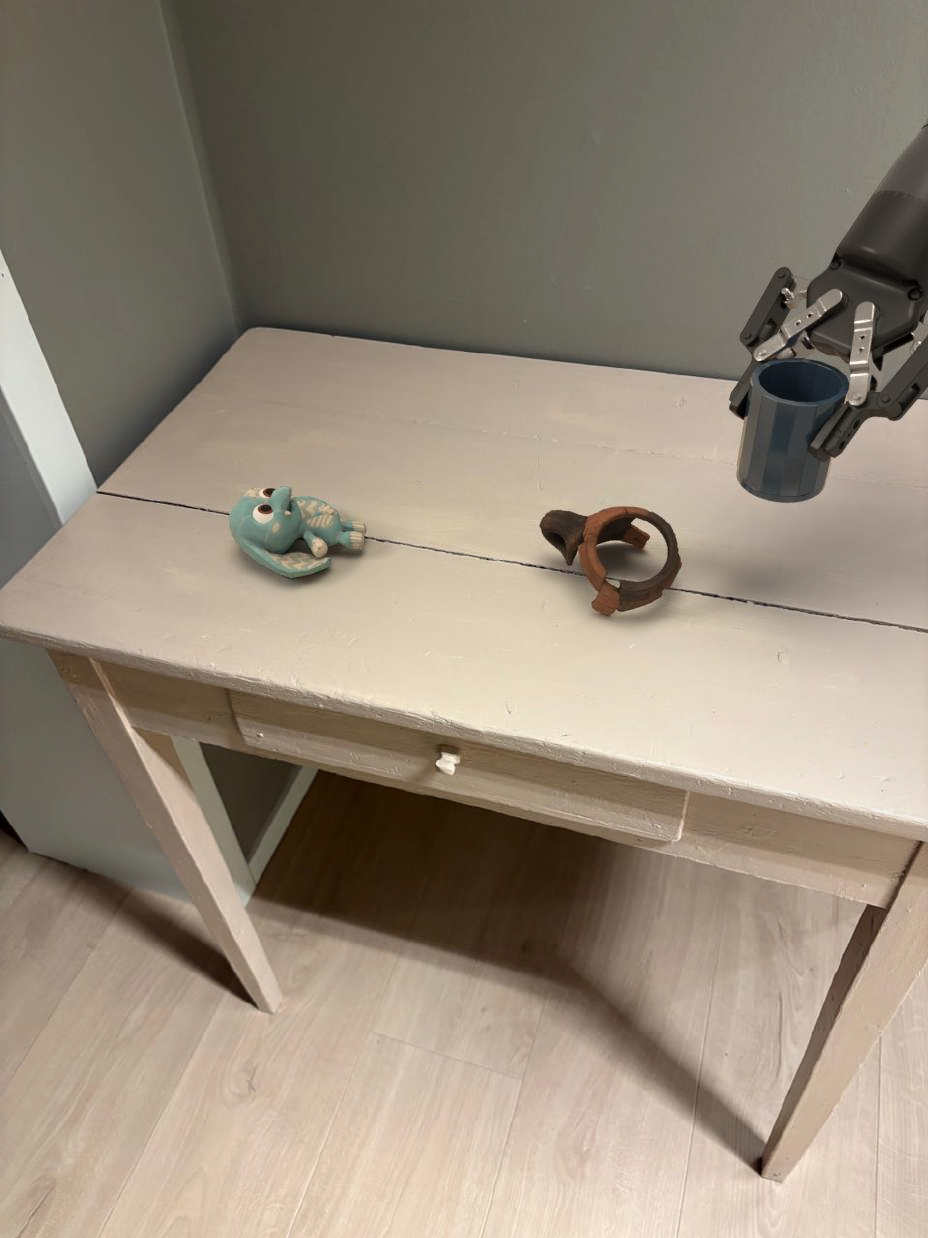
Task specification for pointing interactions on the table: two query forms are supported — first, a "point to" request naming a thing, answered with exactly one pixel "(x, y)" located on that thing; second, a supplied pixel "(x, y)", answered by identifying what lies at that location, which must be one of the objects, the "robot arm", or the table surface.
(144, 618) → the table surface
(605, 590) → the brown broken clay pot
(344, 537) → the stuffed animal
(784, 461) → the cup
